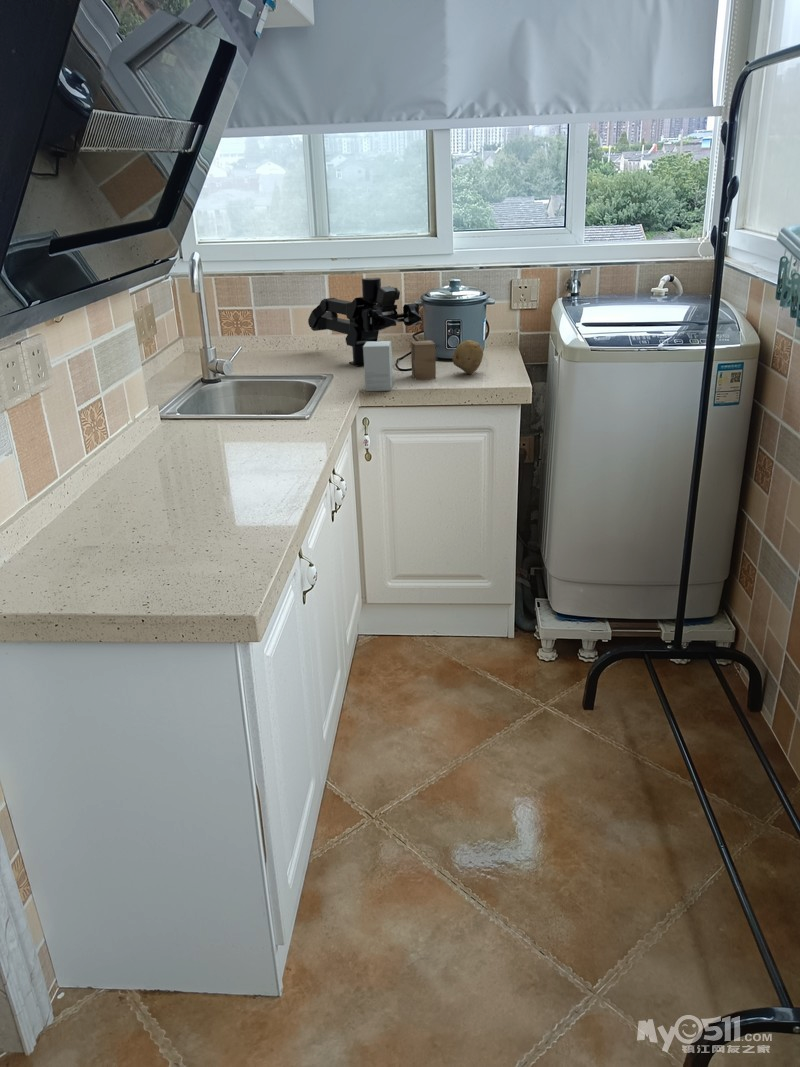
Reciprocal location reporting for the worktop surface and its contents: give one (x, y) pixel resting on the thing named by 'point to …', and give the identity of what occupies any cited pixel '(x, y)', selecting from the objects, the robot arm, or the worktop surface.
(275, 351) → the worktop surface
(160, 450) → the worktop surface
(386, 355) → the supplement box
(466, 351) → the natural sponge
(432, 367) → the walnut block
